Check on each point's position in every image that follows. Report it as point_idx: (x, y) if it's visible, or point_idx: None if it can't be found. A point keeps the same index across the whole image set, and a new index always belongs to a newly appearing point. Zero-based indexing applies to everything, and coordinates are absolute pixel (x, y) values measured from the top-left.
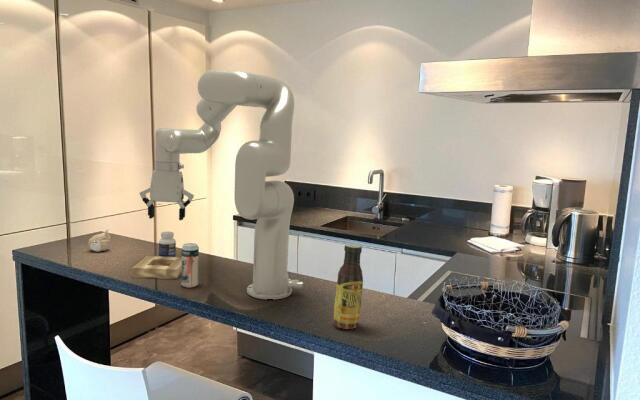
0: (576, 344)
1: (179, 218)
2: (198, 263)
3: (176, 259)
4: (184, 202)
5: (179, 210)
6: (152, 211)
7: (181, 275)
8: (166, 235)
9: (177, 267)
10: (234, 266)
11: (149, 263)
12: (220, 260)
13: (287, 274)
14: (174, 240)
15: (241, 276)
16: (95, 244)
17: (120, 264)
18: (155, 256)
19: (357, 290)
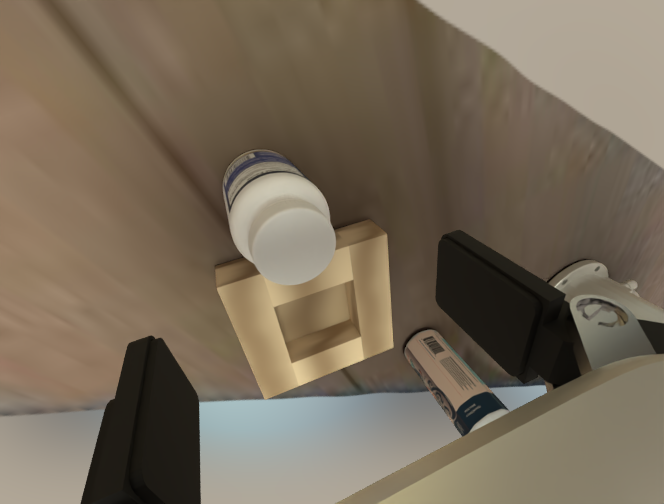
0: None
1: (447, 309)
2: (473, 372)
3: (355, 272)
4: (645, 353)
5: (503, 365)
6: (185, 446)
7: (419, 376)
8: (307, 276)
9: (389, 335)
10: (514, 151)
11: (285, 344)
12: (467, 86)
13: (631, 291)
14: (329, 220)
15: (525, 235)
16: None
17: (100, 307)
18: (257, 278)
19: None
